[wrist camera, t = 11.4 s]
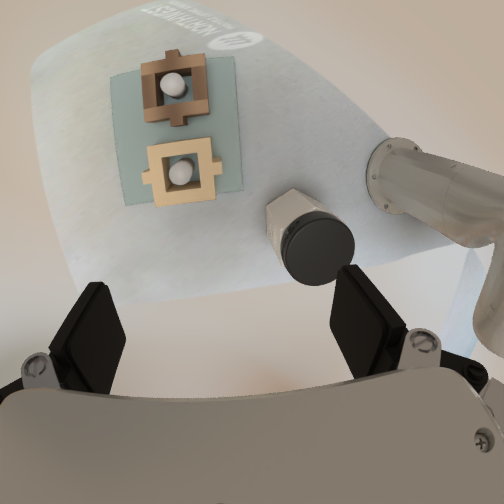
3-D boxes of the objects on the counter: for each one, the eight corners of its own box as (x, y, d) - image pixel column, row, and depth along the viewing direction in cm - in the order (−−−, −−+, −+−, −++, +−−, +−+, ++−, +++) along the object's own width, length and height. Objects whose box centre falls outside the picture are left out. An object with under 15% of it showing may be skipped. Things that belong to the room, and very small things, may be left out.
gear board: (232, 59, 29) (237, 42, 22) (242, 188, 37) (248, 202, 30) (113, 78, 27) (91, 69, 21) (128, 203, 35) (110, 220, 28)
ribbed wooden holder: (205, 56, 27) (204, 45, 22) (210, 122, 31) (209, 121, 26) (150, 65, 26) (140, 56, 22) (155, 130, 30) (145, 131, 26)
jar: (263, 190, 37) (283, 217, 26) (319, 186, 38) (358, 211, 27) (266, 249, 41) (284, 294, 30) (318, 243, 42) (351, 284, 31)
